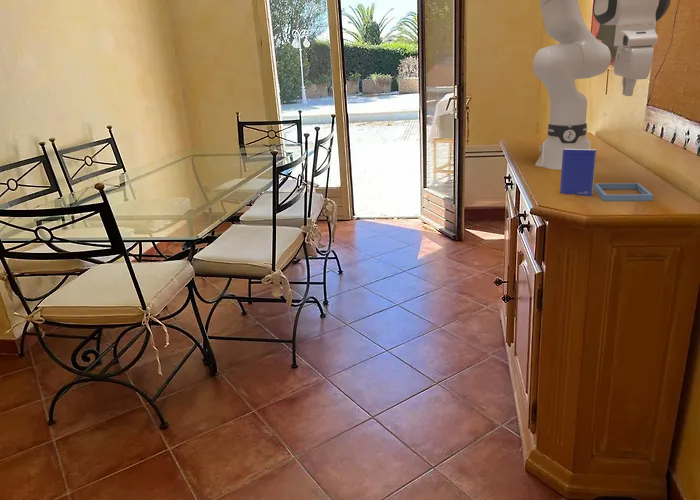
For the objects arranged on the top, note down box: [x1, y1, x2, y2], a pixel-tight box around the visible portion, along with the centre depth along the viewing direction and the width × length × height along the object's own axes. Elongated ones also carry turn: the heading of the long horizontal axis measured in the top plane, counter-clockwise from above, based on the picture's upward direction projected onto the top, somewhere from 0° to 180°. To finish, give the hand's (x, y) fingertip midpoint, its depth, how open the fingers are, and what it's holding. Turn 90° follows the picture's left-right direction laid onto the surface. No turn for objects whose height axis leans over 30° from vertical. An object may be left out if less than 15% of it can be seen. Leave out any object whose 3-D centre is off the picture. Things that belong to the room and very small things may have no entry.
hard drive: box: [559, 148, 597, 197], centre depth 147 cm, size 2×8×12 cm, turn 61°
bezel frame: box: [593, 182, 654, 202], centre depth 146 cm, size 14×12×2 cm
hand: (627, 95), depth 139 cm, fingers closed
